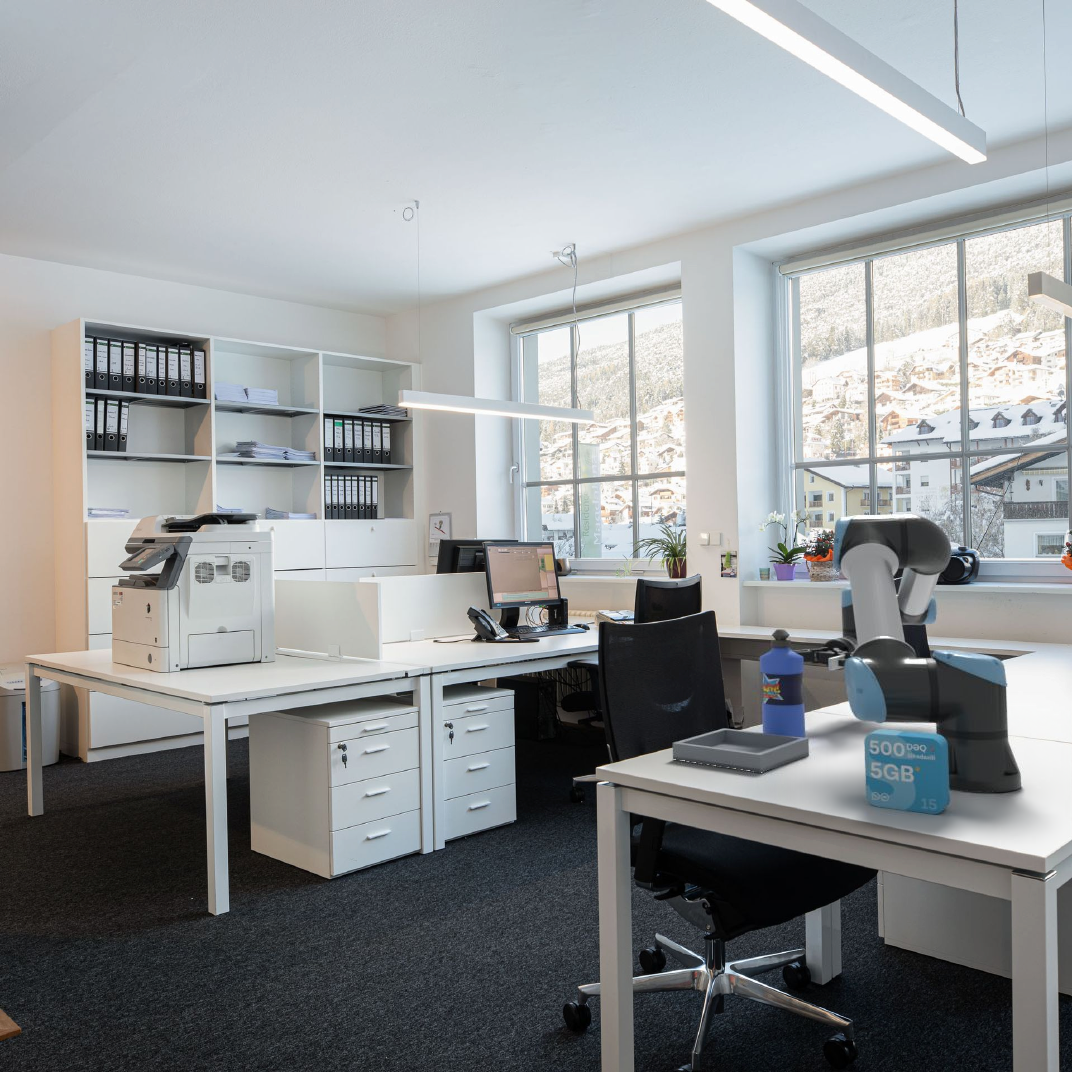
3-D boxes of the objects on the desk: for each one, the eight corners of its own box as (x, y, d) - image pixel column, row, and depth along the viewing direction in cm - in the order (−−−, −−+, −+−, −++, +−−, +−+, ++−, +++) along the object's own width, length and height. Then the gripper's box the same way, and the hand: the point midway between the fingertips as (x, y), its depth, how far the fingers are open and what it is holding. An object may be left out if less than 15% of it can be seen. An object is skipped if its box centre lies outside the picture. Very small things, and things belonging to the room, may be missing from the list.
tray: (760, 773, 176) (760, 755, 176) (673, 760, 190) (672, 743, 190) (808, 755, 191) (808, 738, 191) (724, 744, 204) (723, 728, 205)
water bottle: (783, 749, 198) (779, 632, 198) (753, 742, 206) (749, 629, 206) (815, 744, 202) (811, 629, 203) (784, 737, 210) (781, 627, 211)
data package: (866, 805, 152) (863, 732, 152) (874, 799, 156) (871, 728, 156) (943, 816, 145) (940, 739, 145) (950, 809, 149) (947, 734, 149)
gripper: (893, 672, 219) (855, 683, 203) (795, 665, 236) (753, 675, 220) (891, 640, 219) (854, 649, 203) (794, 635, 236) (752, 643, 220)
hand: (801, 662), depth 212 cm, fingers open, 13 cm apart
